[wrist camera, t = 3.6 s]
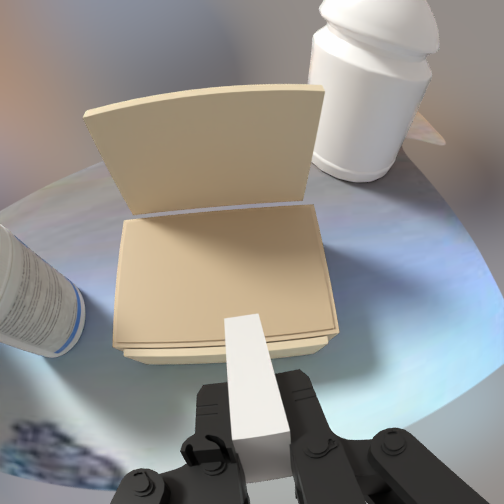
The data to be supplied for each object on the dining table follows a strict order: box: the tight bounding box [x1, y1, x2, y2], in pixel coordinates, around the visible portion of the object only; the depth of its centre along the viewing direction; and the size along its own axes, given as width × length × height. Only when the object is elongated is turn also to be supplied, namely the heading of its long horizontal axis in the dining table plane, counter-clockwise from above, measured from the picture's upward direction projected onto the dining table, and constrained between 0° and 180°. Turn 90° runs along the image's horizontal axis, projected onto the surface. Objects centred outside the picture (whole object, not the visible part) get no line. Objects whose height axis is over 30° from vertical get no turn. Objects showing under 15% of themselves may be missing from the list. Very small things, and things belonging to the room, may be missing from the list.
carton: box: [113, 204, 339, 365], centre depth 27 cm, size 18×13×6 cm
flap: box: [83, 84, 325, 215], centre depth 22 cm, size 16×1×12 cm, turn 95°
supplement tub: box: [0, 224, 85, 358], centre depth 21 cm, size 10×10×15 cm
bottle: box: [308, 0, 440, 182], centre depth 27 cm, size 14×14×28 cm
